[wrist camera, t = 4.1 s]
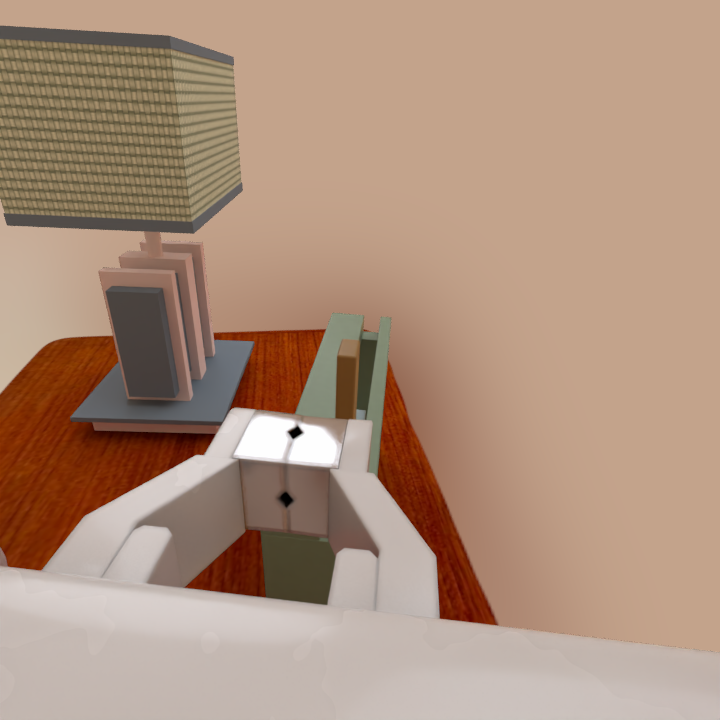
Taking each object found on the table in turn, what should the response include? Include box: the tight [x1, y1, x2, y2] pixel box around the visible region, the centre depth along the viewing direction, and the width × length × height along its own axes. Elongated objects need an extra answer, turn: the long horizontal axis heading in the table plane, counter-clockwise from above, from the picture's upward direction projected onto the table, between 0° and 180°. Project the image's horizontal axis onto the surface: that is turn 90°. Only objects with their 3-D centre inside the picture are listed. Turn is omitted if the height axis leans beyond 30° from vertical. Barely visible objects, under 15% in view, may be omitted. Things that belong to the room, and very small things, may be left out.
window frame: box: [261, 313, 391, 605], centre depth 33 cm, size 5×22×14 cm, turn 175°
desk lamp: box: [0, 26, 254, 434], centre depth 45 cm, size 18×14×33 cm
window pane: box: [335, 339, 366, 420], centre depth 27 cm, size 1×9×19 cm, turn 175°
